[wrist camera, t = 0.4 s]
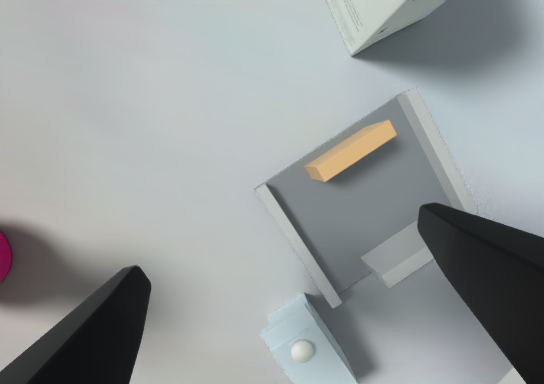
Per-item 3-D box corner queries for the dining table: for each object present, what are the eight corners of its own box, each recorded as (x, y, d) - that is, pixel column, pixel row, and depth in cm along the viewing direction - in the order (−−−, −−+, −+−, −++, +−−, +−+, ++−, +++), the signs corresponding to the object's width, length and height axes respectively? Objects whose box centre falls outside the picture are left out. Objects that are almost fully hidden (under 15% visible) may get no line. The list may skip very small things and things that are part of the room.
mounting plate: (458, 207, 23) (506, 218, 19) (325, 296, 23) (343, 327, 18) (400, 93, 21) (439, 76, 17) (254, 189, 21) (256, 196, 16)
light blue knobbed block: (347, 358, 24) (373, 408, 19) (313, 380, 24) (330, 437, 19) (294, 279, 22) (307, 312, 17) (257, 303, 22) (260, 343, 17)
